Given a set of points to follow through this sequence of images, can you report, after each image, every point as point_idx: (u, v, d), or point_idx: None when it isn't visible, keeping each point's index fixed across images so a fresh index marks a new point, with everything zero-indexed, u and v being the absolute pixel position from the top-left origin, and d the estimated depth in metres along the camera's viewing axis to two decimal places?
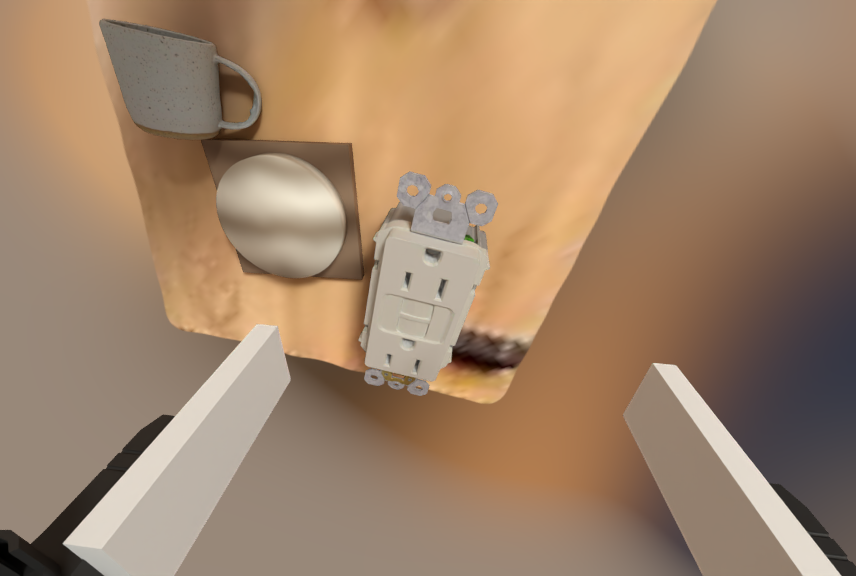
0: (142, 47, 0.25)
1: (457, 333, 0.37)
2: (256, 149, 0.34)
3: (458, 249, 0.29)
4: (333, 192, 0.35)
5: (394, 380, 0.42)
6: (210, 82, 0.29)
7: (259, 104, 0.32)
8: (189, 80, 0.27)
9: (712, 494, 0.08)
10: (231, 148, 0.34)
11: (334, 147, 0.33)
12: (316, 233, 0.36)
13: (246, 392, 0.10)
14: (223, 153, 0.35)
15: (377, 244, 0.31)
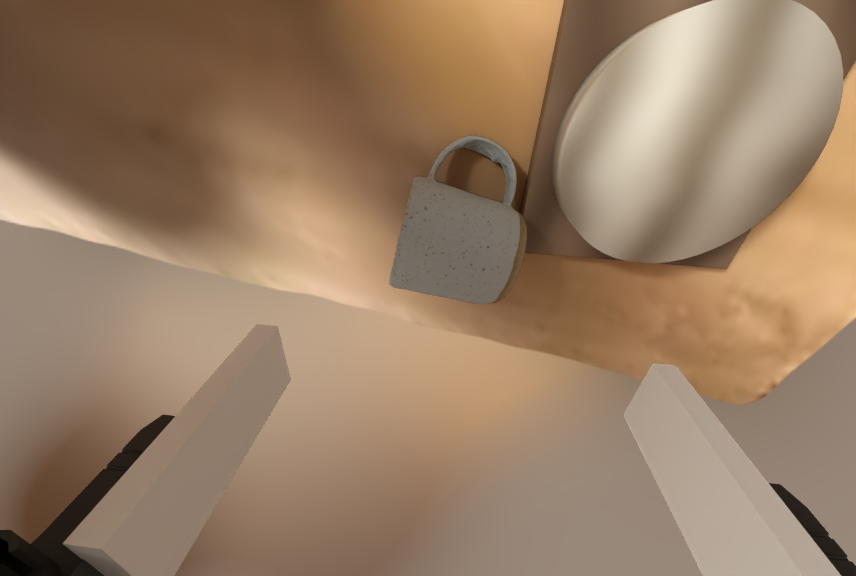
0: (416, 242, 0.19)
1: None
2: (543, 174, 0.22)
3: None
4: (662, 19, 0.17)
5: None
6: (457, 190, 0.21)
7: (487, 139, 0.21)
8: (454, 207, 0.19)
9: (712, 494, 0.08)
10: (534, 213, 0.23)
11: (572, 10, 0.17)
12: (747, 70, 0.16)
13: (246, 392, 0.10)
14: (537, 228, 0.24)
15: None
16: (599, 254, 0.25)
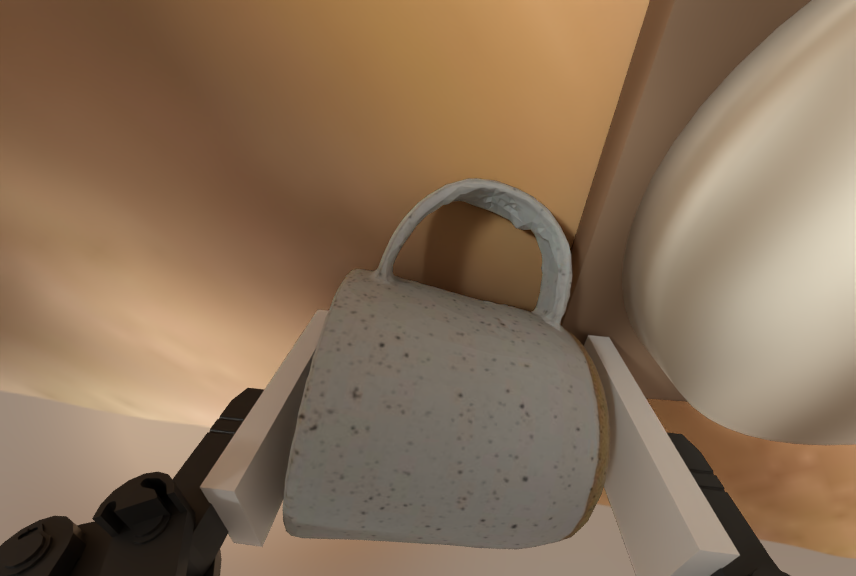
0: (332, 491, 0.07)
1: None
2: (605, 268, 0.11)
3: None
4: None
5: None
6: (441, 311, 0.09)
7: (507, 187, 0.09)
8: (435, 377, 0.07)
9: (621, 442, 0.09)
10: (579, 333, 0.12)
11: None
12: None
13: None
14: None
15: None
16: None
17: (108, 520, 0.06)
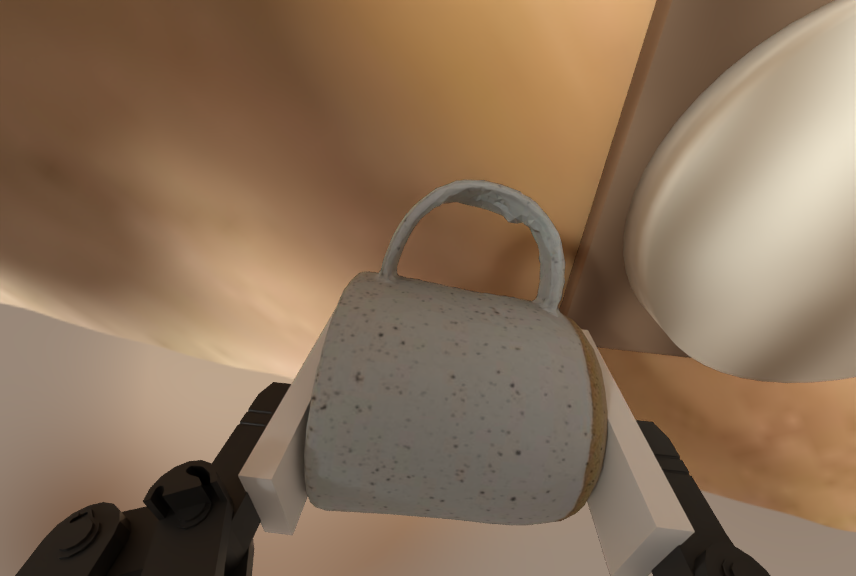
0: (343, 463, 0.08)
1: None
2: (610, 240, 0.14)
3: None
4: None
5: None
6: (438, 303, 0.10)
7: (493, 184, 0.10)
8: (429, 361, 0.08)
9: None
10: (590, 294, 0.16)
11: None
12: None
13: None
14: (593, 313, 0.16)
15: None
16: (684, 351, 0.17)
17: (156, 503, 0.06)
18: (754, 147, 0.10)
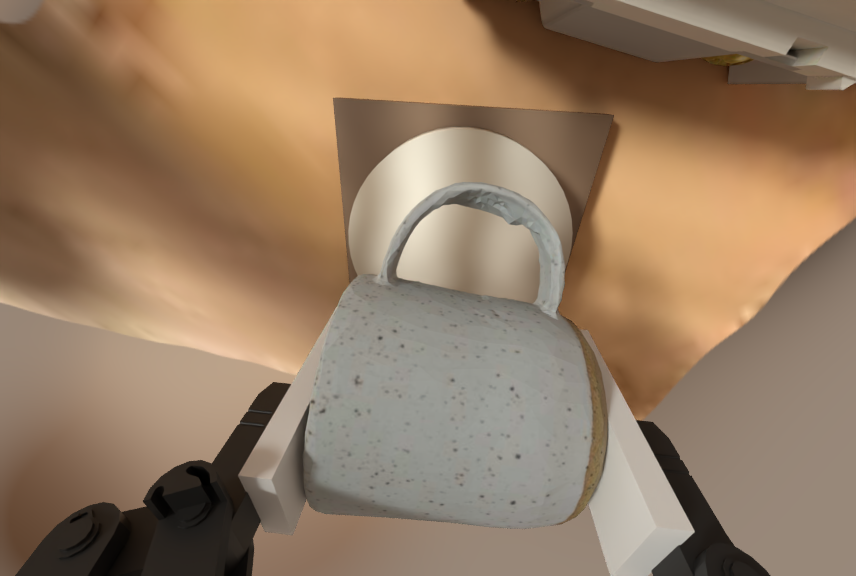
0: (342, 467, 0.08)
1: None
2: None
3: None
4: (409, 140, 0.19)
5: None
6: (437, 306, 0.10)
7: (493, 187, 0.10)
8: (429, 364, 0.08)
9: None
10: None
11: (340, 127, 0.19)
12: None
13: None
14: None
15: None
16: None
17: (156, 504, 0.06)
18: (374, 212, 0.20)
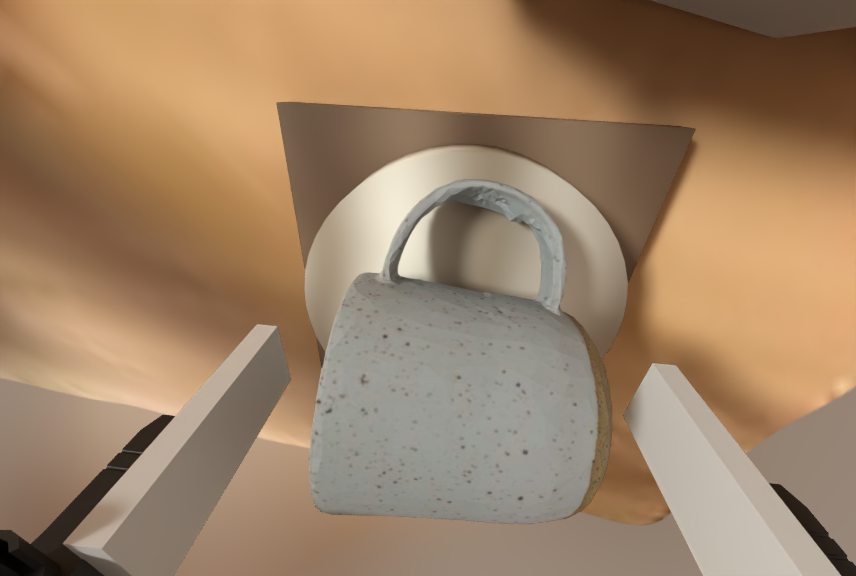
0: (349, 466, 0.08)
1: None
2: None
3: None
4: (389, 165, 0.13)
5: None
6: (441, 303, 0.10)
7: (495, 183, 0.10)
8: (435, 362, 0.08)
9: (712, 494, 0.08)
10: None
11: (290, 144, 0.13)
12: (494, 235, 0.12)
13: (246, 392, 0.10)
14: None
15: None
16: None
17: None
18: (339, 267, 0.14)
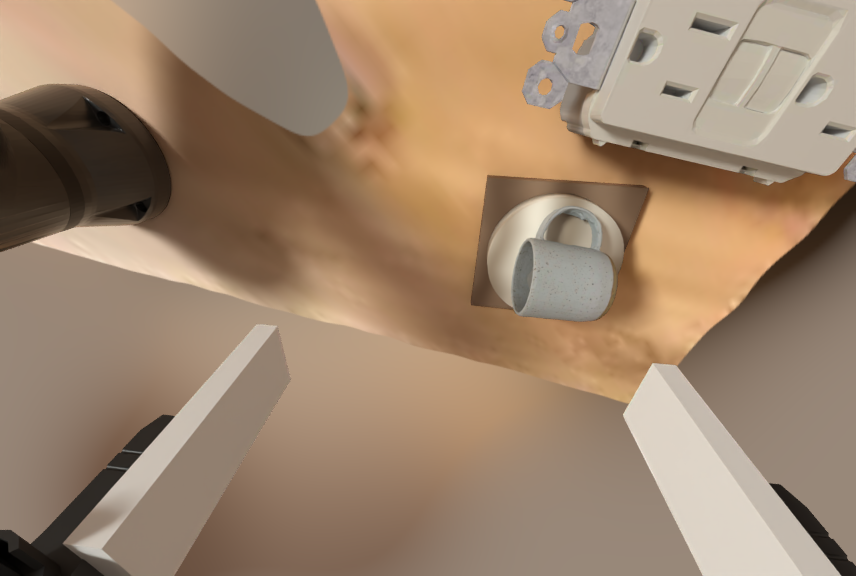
0: (543, 287, 0.28)
1: None
2: (482, 264, 0.38)
3: (642, 2, 0.19)
4: (531, 201, 0.33)
5: None
6: (562, 246, 0.30)
7: (578, 207, 0.30)
8: (565, 260, 0.28)
9: (712, 494, 0.08)
10: (479, 284, 0.40)
11: (488, 192, 0.34)
12: (572, 227, 0.33)
13: (246, 392, 0.10)
14: (482, 292, 0.40)
15: (609, 140, 0.24)
16: None
17: None
18: (507, 240, 0.34)
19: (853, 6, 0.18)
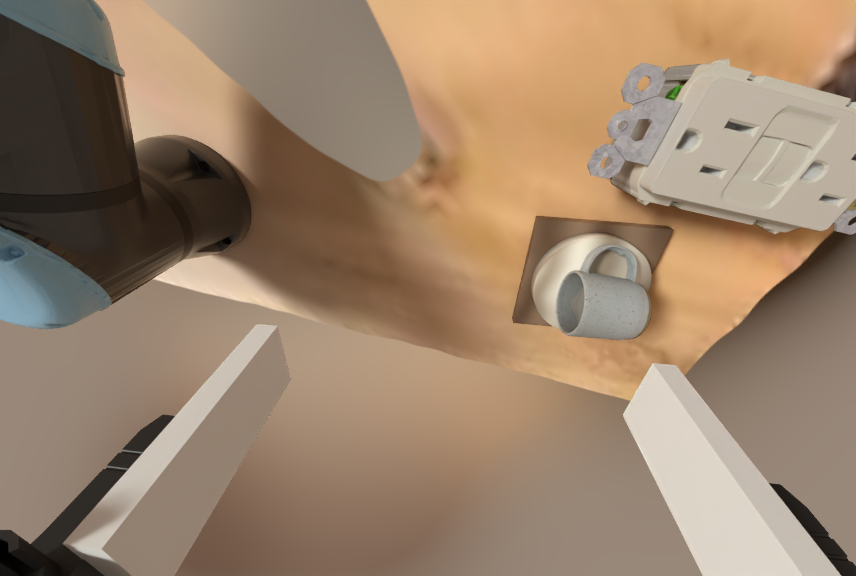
0: (593, 314, 0.34)
1: (827, 96, 0.26)
2: (527, 289, 0.45)
3: (688, 107, 0.25)
4: (575, 239, 0.39)
5: None
6: (605, 278, 0.36)
7: (618, 246, 0.36)
8: (610, 291, 0.35)
9: (712, 494, 0.08)
10: (522, 305, 0.46)
11: (537, 230, 0.40)
12: (609, 262, 0.39)
13: (246, 392, 0.10)
14: (524, 312, 0.47)
15: (652, 201, 0.31)
16: None
17: None
18: (553, 272, 0.40)
19: (844, 116, 0.25)
